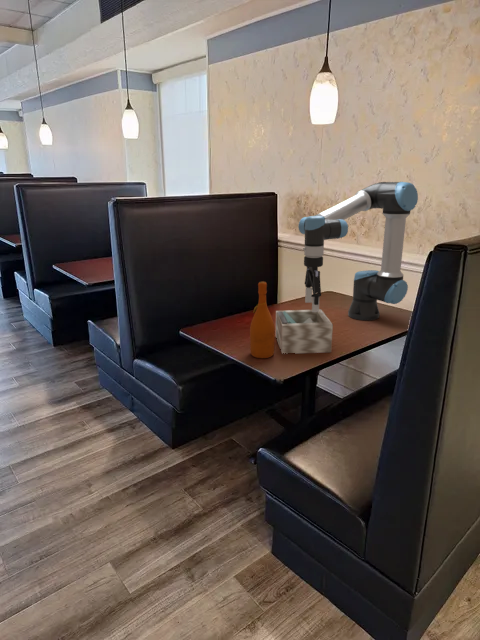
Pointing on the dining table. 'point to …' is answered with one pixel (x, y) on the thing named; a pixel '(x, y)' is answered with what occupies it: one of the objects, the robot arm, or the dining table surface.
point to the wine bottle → (262, 327)
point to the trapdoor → (288, 318)
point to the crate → (304, 332)
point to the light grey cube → (309, 320)
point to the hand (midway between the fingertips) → (311, 307)
